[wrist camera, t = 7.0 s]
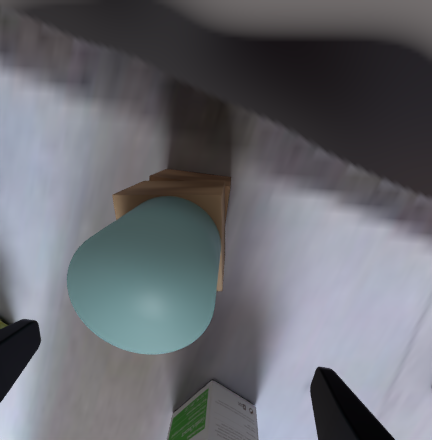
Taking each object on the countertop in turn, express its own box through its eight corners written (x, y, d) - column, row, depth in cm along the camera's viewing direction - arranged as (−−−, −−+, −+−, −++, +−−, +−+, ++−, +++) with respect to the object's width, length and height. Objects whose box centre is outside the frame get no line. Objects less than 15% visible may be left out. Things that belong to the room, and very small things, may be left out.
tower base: (231, 177, 18) (230, 186, 14) (222, 236, 20) (220, 259, 16) (167, 168, 18) (149, 176, 14) (164, 228, 20) (147, 248, 16)
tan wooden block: (224, 180, 14) (221, 194, 10) (225, 254, 16) (222, 291, 12) (144, 180, 14) (112, 194, 11) (152, 253, 16) (127, 288, 12)
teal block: (227, 203, 10) (224, 238, 7) (215, 293, 12) (206, 363, 8) (122, 189, 11) (59, 215, 7) (123, 280, 12) (73, 343, 8)
